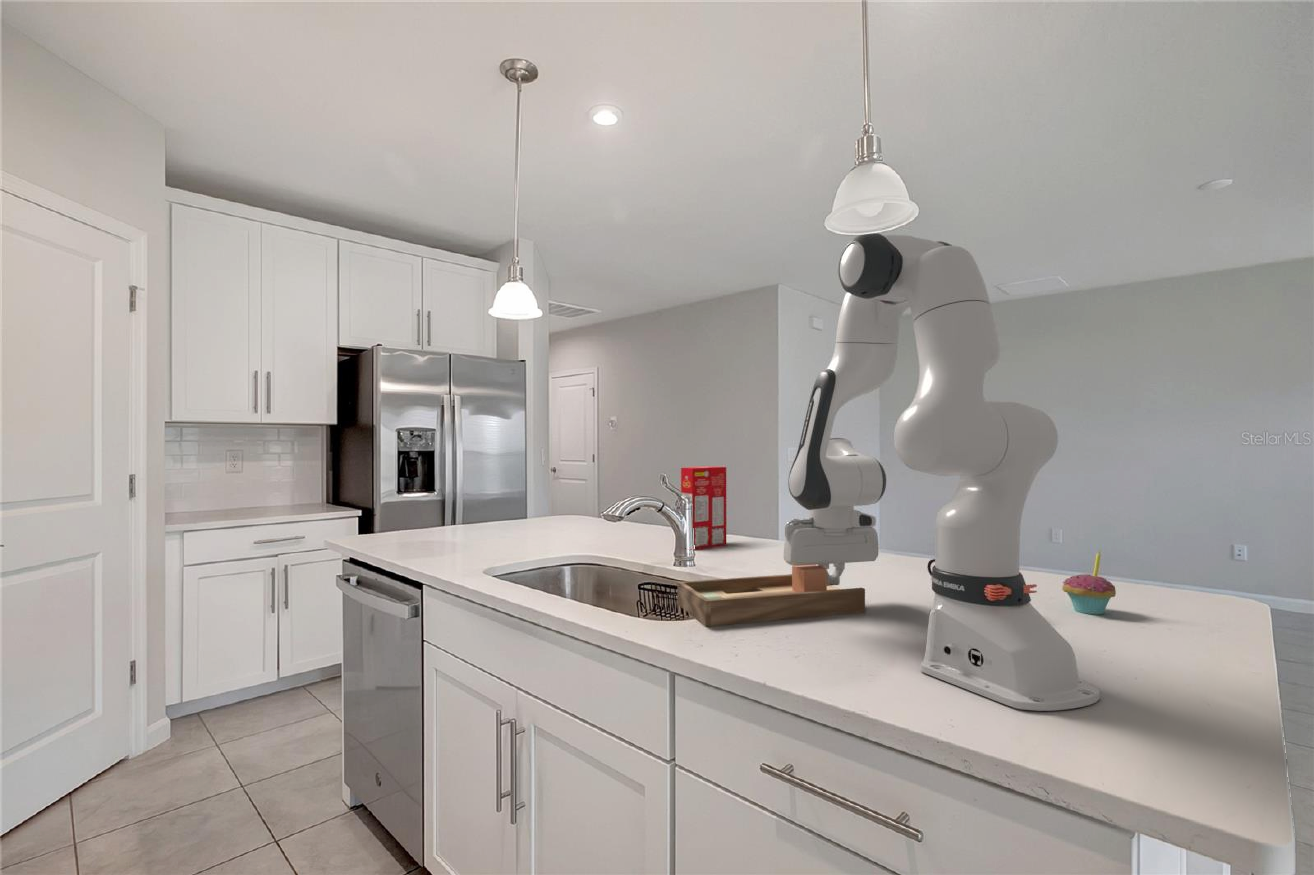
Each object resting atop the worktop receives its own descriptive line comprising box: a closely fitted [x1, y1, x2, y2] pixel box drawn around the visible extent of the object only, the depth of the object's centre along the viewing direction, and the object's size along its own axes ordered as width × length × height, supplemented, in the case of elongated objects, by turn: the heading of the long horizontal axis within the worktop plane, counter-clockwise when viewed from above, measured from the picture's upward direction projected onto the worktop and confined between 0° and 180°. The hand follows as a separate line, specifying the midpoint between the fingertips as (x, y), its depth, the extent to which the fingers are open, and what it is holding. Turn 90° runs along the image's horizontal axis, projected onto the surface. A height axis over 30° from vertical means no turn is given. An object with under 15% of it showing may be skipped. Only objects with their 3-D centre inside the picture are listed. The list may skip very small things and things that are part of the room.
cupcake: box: [1061, 549, 1117, 616], centre depth 121 cm, size 9×8×12 cm
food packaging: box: [680, 466, 727, 551], centre depth 197 cm, size 15×5×25 cm, turn 130°
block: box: [791, 565, 828, 593], centre depth 127 cm, size 5×5×5 cm
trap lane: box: [676, 573, 866, 627], centre depth 124 cm, size 16×33×4 cm, turn 106°
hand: (831, 585), depth 128 cm, fingers closed
